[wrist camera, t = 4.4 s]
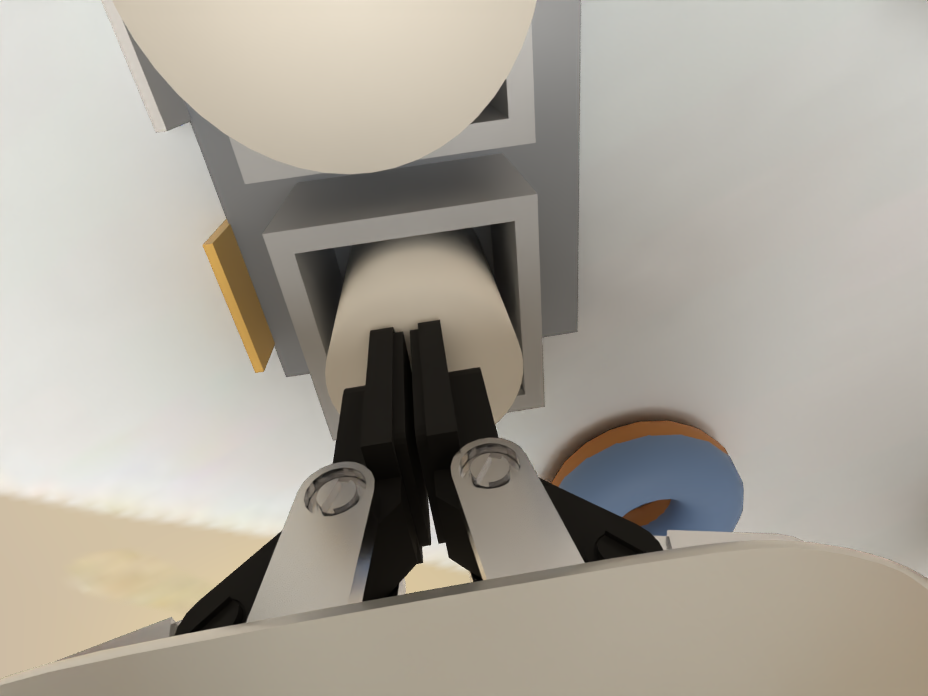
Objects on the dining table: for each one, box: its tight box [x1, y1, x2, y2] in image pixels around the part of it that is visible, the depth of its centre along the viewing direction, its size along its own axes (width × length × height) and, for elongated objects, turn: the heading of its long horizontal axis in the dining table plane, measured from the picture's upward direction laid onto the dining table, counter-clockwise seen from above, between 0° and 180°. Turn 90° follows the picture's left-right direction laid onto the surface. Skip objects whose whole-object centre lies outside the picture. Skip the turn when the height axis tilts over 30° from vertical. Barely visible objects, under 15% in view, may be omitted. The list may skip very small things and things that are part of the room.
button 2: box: [325, 227, 523, 424], centre depth 15 cm, size 5×5×7 cm
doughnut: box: [552, 420, 744, 536], centre depth 26 cm, size 10×10×5 cm
